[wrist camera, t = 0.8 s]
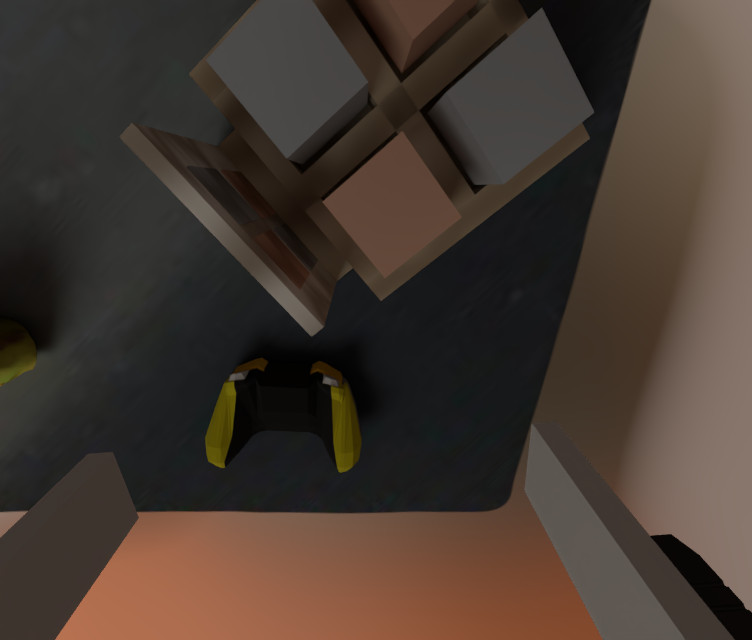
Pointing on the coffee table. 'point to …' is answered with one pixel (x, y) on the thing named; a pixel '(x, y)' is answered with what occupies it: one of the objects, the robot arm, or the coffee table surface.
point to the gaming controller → (285, 409)
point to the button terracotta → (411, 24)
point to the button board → (336, 163)
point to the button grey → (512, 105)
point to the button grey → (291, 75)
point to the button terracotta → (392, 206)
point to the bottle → (15, 350)
